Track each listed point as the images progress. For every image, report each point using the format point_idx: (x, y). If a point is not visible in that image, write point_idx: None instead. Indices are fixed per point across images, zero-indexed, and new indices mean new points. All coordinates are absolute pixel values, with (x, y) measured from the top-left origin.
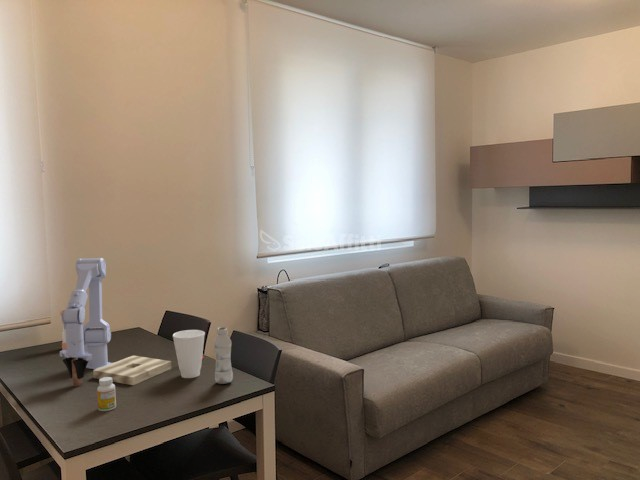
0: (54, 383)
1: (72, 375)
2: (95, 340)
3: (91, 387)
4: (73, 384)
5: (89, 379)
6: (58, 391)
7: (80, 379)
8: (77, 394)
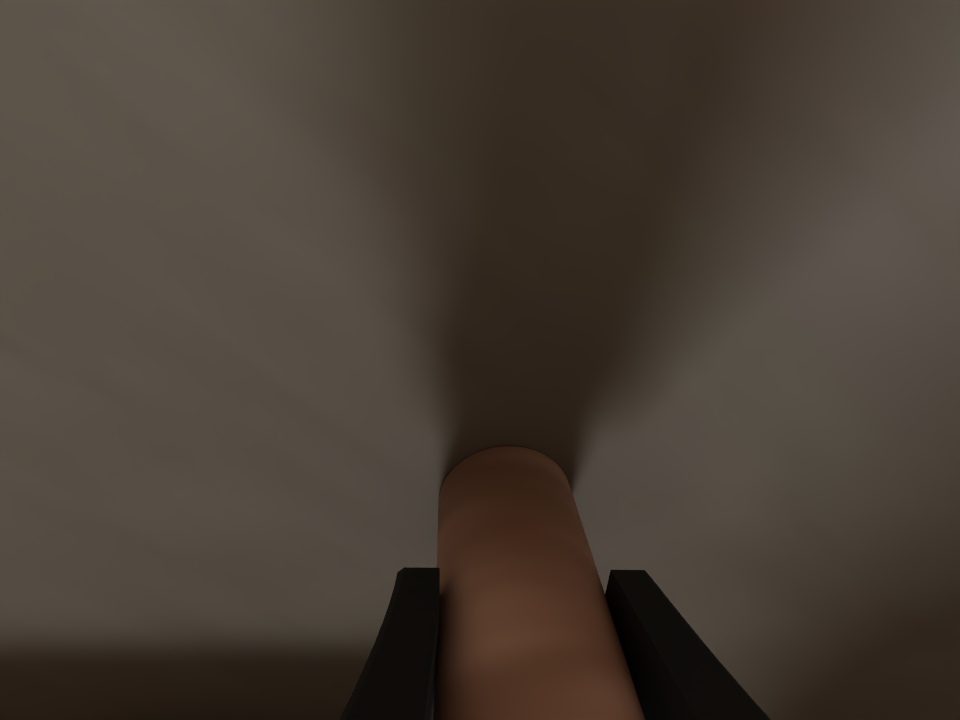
0: (944, 440)
1: (597, 611)
2: None
3: (214, 513)
4: (530, 468)
5: None
6: (611, 184)
7: None
8: (91, 190)
